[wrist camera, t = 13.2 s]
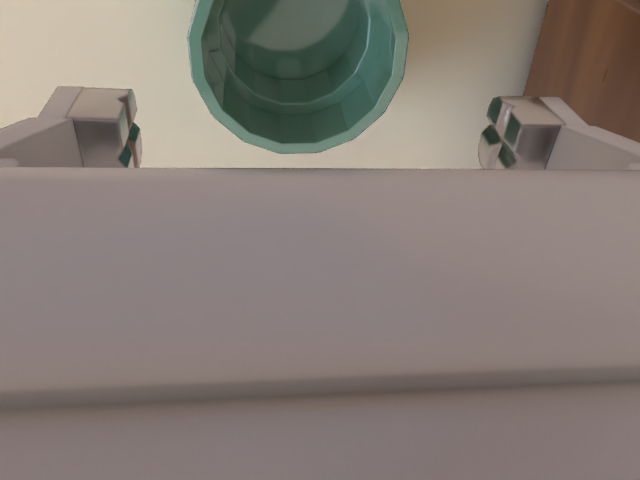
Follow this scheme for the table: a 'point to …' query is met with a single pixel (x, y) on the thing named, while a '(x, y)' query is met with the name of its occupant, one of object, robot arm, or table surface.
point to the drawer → (591, 62)
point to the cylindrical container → (297, 68)
